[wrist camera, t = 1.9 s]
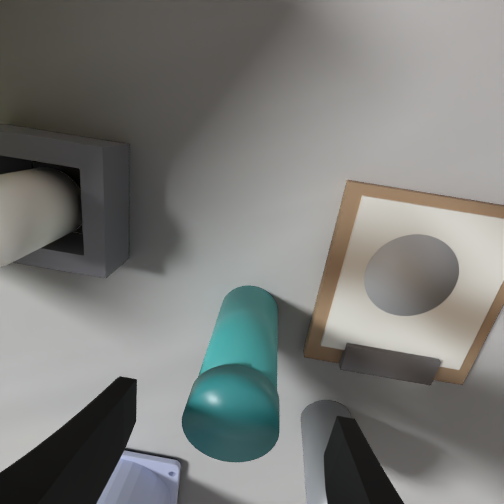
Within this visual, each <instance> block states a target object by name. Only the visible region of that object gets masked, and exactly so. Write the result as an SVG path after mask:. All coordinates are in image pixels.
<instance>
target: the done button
mask: <svg viewBox="0 0 504 504" xmlns="http://www.w3.org/2000/svg"><path fill="white" fill-rule="evenodd" d="M81 224H82V204H81V190H80V188H79V187H78V185H77V184H76V183H75V182H74V181H73V180H72V179H71V178H70V177H69V176H68V175H66V174H65V173H63V172H61V171H59V170H57V169H54V168H49V167H40V168H34V169H28V170H23V171H17V172H11V173H5V174H0V267H3V266H6V265H8V264H10V263H12V262H14V261H16V260H18V259H20V258H22V257H24V256H26V255H28V254H30V253H32V252H34V251H36V250H38V249H40V248H42V247H44V246H46V245H48V244H49V243H51V242H53V241H55V240H57V239H59V238H61V237H63V236H65V235H67V234H69V233H71V232H73V231H75V230H76V229H78V228H79V227H80V226H81Z"/></svg>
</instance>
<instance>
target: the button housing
mask: <svg viewBox="0 0 504 504" xmlns="http://www.w3.org/2000/svg"><path fill="white" fill-rule="evenodd" d="M31 160H32V161H38V162H44V163H50V164H56V165H62V166H68V167H74V168H80V184H81V204H82V223H83V234H82V233H76V232H71V233H69V234H67V235H65V236H63V237H61V238H59V239H57V240H55V241H53V242H51V243H49V244H48V245H46V246H44V247H42V248H40V249H38V250H36V251H34V252H32V253H30V254H28V255H26V256H24V257H22V258H20V259H18V260H16V261H14V262H13V263H19V264H25V265H30V266H36V267H42V268H48V269H54V270H59V271H65V272H71V273H77V274H83V275H88V276H94V277H100V278H107V277H108V276H109V275H110V274H111V273H113V272H114V271H115V270H116V269H117V268H118V267H119V266H121V265H122V264H123V263H124V262H125V261H126V260H128V259H129V144H125V143H118V142H112V141H106V140H100V139H94V138H88V137H82V136H76V135H69V134H63V133H57V132H51V131H45V130H39V129H33V128H26V127H20V126H14V125H8V124H0V174H5V173H11V172H17V171H23V170H28V169H32V163H31Z"/></svg>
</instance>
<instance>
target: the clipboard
mask: <svg viewBox="0 0 504 504" xmlns="http://www.w3.org/2000/svg"><path fill="white" fill-rule="evenodd" d="M503 304H504V205H499V204H493V203H487V202H480V201H474V200H468V199H462V198H456V197H450V196H444V195H438V194H431V193H425V192H419V191H413V190H407V189H401V188H395V187H388V186H382V185H376V184H370V183H364V182H358V181H352V180H347V183H346V187H345V191H344V194H343V198H342V202H341V206H340V210H339V214H338V218H337V222H336V226H335V230H334V233H333V237H332V241H331V245H330V249H329V253H328V257H327V261H326V265H325V268H324V272H323V276H322V280H321V284H320V288H319V292H318V296H317V300H316V304H315V307H314V311H313V315H312V319H311V323H310V327H309V331H308V335H307V339H306V342H305V346H304V350H303V351H304V357H306V358H312V359H317V360H323V361H329V362H334V363H339V365H340V369H341V370H346V371H352V372H358V373H363V374H369V375H375V376H380V377H386V378H392V379H397V380H403V381H409V382H414V383H420V384H426V385H431V384H432V382H433V380H437V381H443V382H448V383H454V384H460V385H463V383H464V381H465V379H466V377H467V375H468V373H469V371H470V369H471V367H472V365H473V363H474V361H475V359H476V357H477V355H478V353H479V351H480V349H481V347H482V345H483V343H484V342H485V340H486V338H487V336H488V334H489V332H490V330H491V328H492V326H493V324H494V322H495V320H496V318H497V316H498V314H499V312H500V310H501V308H502V306H503Z"/></svg>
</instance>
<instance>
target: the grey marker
mask: <svg viewBox="0 0 504 504" xmlns="http://www.w3.org/2000/svg"><path fill="white" fill-rule="evenodd" d="M337 416H342V417H348V418H351V414H350V412H349V411H348V409H347V408H346V407H345V406H343V405H342V404H340V403H338V402H335V401H329V400H322V401H317V402H314V403H312V404H310V405H308V406H307V407H306V408H305V409H304V410H303V412H302V414H301V430H302V444H303V459H304V473H305V488H306V502H307V504H327V497H326V490H325V476H324V452H325V449H326V447H327V444H328V441H329V438H330V435H331V432H332V429H333V426H334V423H335V420H336V417H337Z"/></svg>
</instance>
